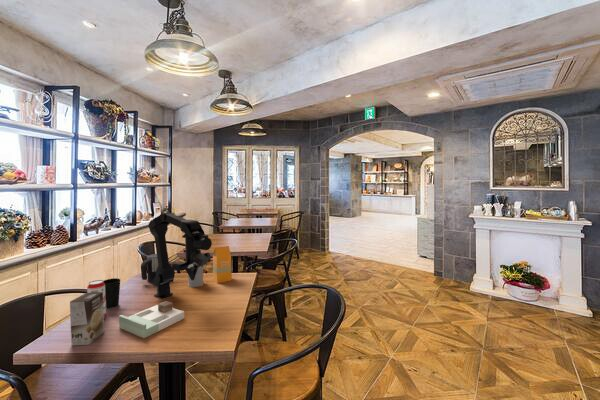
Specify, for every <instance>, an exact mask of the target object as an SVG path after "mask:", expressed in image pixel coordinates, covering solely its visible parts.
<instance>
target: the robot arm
mask: <svg viewBox="0 0 600 400" xmlns="http://www.w3.org/2000/svg"><path fill="white" fill-rule="evenodd" d="M170 224H171V225H173V226H175V227H178V228H179V229H180V231H181V232H182V234H183V233H184V234H183V235H182V236H181V237H182V238H184V240H185V241H184V242H185V247H184V248H185V249H183V253H185V257H184V258H183V261H176V262H174V263H172V264H170V261H169V260H170V259H169V253H168V248H167V239H166V235H167V233H168V229H169V227H168V226H169V225H170ZM148 229H149V233H150V234H151V235H152V236H153V237H154V243H155V251H156V254H157V259H158V267H157V270H156V276H155V278H154V279H153V280H152V282H151V283H152V285H153V286H155V287H156V294H154V295H153V296H154V297H156V298H160V299H164V298H166V297H167V298H168V297H169V296H171V295H174V294H173V292H171V283H174V280H175V276H176V275H175V274H176V272H175V271H178V272H184V271H186V273H187V276H188V275H189V277H190V279H191V280H194V279H195V276H196V273H197V270H198V268H199V267H200V266H202V265H203V266H205V265H207V264H208V263H210V262H211V261H212V257H211V253H210V252H204V253H202V251H209V250H210V248H211V247H212V245H213V242H212V239H211V238H210V237H209V235H208V234H205V231H204V229H203V227H202V225H201V223H200V222H199V221H198V220H195V219H194V220H193V219H186V218H184V217H181V216H179V215H177V214H174V213H173V212H162V213H160V214H159V215H158V216H156V217H154V218H152V219H151V220H150V221H149V222H148Z"/></svg>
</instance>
